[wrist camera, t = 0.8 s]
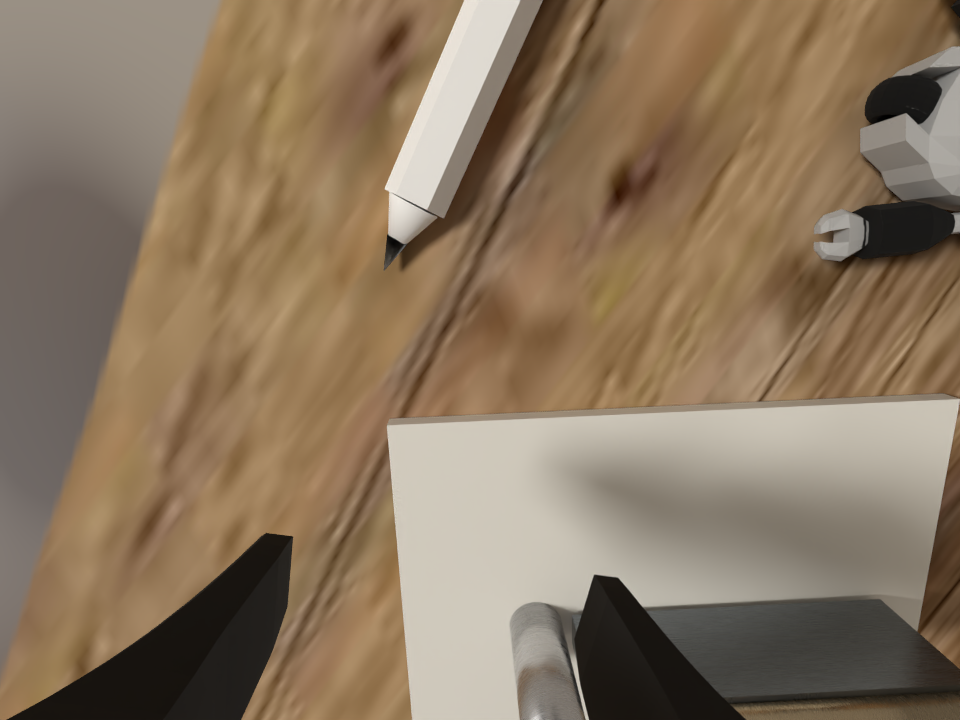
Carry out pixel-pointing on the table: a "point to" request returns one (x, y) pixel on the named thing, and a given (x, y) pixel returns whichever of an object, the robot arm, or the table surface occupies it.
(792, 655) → the gate
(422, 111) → the marker
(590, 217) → the table surface
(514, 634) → the gate post
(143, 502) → the table surface
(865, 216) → the robot toy
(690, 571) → the gate board
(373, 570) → the table surface
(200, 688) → the robot arm
